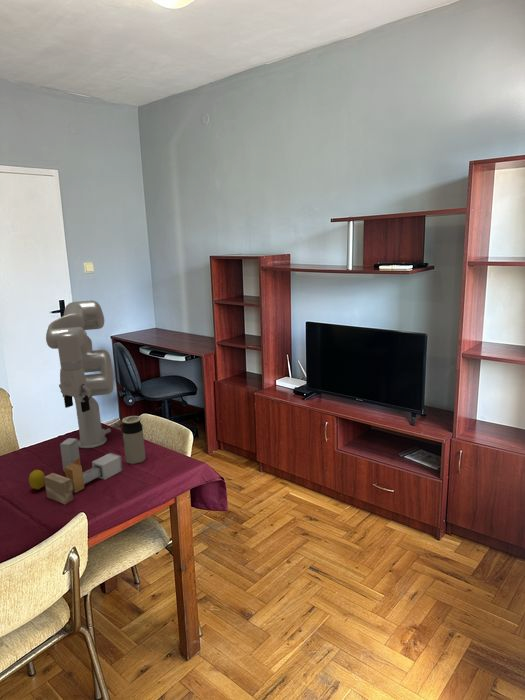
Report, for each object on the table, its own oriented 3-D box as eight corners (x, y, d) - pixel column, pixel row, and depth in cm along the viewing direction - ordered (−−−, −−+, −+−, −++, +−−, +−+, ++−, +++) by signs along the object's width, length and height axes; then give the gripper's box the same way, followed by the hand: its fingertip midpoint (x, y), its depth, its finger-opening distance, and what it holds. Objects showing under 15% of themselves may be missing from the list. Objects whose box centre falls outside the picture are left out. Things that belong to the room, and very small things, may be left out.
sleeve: (111, 466, 200) (110, 452, 199) (122, 470, 197) (121, 456, 196) (93, 476, 193) (91, 461, 192) (104, 479, 190) (102, 465, 188)
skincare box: (73, 472, 197) (69, 444, 194) (63, 472, 197) (59, 444, 195) (81, 465, 202) (77, 438, 200) (72, 465, 203) (68, 437, 200)
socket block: (55, 492, 181) (52, 472, 180) (73, 499, 176) (70, 479, 174) (47, 497, 179) (44, 476, 177) (64, 504, 173) (61, 483, 171)
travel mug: (148, 456, 209) (144, 415, 204) (140, 464, 201) (136, 423, 197) (130, 455, 210) (126, 415, 206) (122, 463, 202) (117, 422, 198)
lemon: (37, 494, 181) (33, 474, 179) (27, 491, 183) (24, 471, 182) (50, 487, 185) (47, 468, 184) (40, 484, 188) (37, 465, 186)
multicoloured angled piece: (98, 473, 194) (96, 452, 192) (106, 476, 192) (103, 454, 189) (55, 496, 178) (52, 473, 176) (63, 499, 176) (59, 476, 174)
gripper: (48, 364, 184) (54, 408, 189) (78, 371, 175) (84, 416, 180) (65, 359, 191) (71, 401, 195) (95, 365, 181) (100, 409, 186)
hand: (77, 408), depth 187 cm, fingers open, 9 cm apart
